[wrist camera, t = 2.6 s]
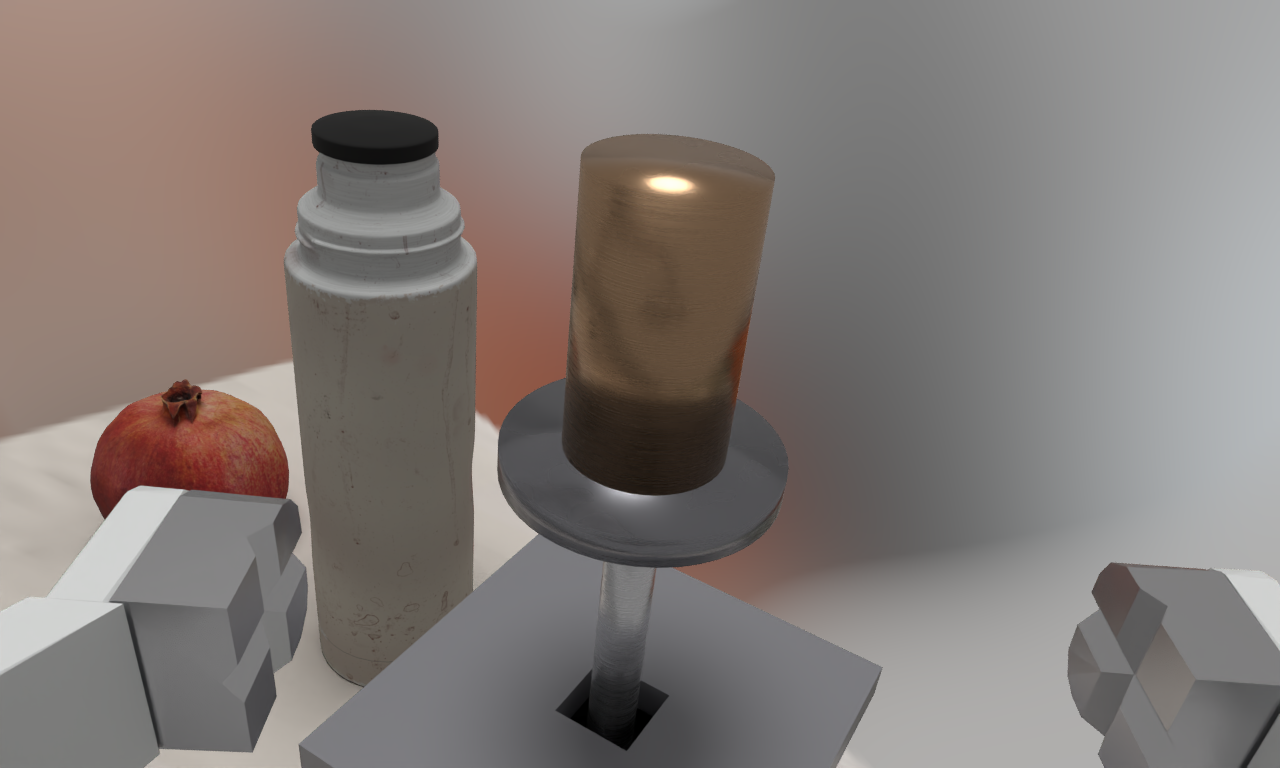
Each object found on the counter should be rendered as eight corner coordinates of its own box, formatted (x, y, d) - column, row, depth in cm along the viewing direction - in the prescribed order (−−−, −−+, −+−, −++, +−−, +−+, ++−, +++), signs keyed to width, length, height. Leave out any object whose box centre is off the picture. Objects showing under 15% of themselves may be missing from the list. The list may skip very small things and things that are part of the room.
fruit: (87, 515, 59) (53, 371, 54) (255, 465, 65) (238, 331, 60) (138, 624, 52) (104, 472, 47) (320, 558, 58) (307, 415, 53)
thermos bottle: (444, 567, 58) (442, 90, 44) (493, 662, 53) (508, 147, 38) (305, 604, 55) (252, 97, 40) (341, 710, 49) (294, 162, 35)
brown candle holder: (667, 1007, 24) (809, 328, 15) (364, 802, 28) (316, 160, 19) (819, 734, 32) (980, 168, 22) (563, 602, 36) (604, 73, 26)
